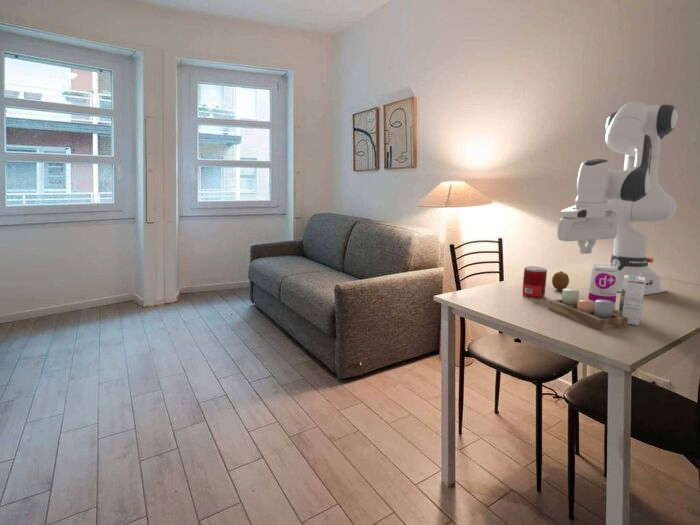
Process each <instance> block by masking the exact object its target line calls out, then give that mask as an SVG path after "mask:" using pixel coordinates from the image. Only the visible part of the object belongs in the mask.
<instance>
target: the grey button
mask: <svg viewBox="0 0 700 525" xmlns="http://www.w3.org/2000/svg"><path fill="white" fill-rule="evenodd" d="M613 306H614V302H612V301H609V300H602V299H598V300H595V309H594V316H597V317H600V318H602V319H605V318H612V314H613V313H614V309H613Z"/></svg>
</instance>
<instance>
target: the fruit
mask: <svg viewBox="0 0 700 525" xmlns="http://www.w3.org/2000/svg"><path fill="white" fill-rule="evenodd" d="M551 284H552V286H553V288H554V289H556V290H557V291H563V289H567V287H568V286H569V284H570V278H569V275H568V273H566V272H563V271H561V270H560V271H558V272H555V273H554V274H553V275H552V279H551Z"/></svg>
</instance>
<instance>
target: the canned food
mask: <svg viewBox="0 0 700 525" xmlns="http://www.w3.org/2000/svg"><path fill="white" fill-rule="evenodd" d="M523 269H524V270H523V278H522V279H523V282H522V295H523V296H524V297H526V298H530V297H531V298H532V299H542V298H543V299H544V297H545V294H546V287H547V286H546V285H547V275H548V273H547V272H548V269H547V268H546V267H542V266H532V265H531V266H530V265H529V266H524V268H523Z"/></svg>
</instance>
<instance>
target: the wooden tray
mask: <svg viewBox="0 0 700 525" xmlns="http://www.w3.org/2000/svg"><path fill="white" fill-rule="evenodd" d="M547 308H548V309H549V310H551V311H553V312H555V313H558V314H560V315H562V316H565V317H567V318H570V319H572V320H575V321H577V322H578V323H582V324H584V325H586V324H587V325H586V326H588V325H589V326H588V327H590V328H593V329H595V328H596V329H595V330H598V331H599V330H602V329H603V330H611V328H614V329H622V328H621V327H625V328H627V327H628V324H627V320H628V318H627V317H624V316H621V315H618V313H615V312H613V314H612V318H605V319H602V318H600V317H597V316H594V311H588V312H584V311H581V310H579V309H577V305H569V306H568V305H566V304H563V303H562V298H561V299H559V298H558V299H548V305H547ZM594 309H595V306H594ZM603 330H602V331H603Z"/></svg>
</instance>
